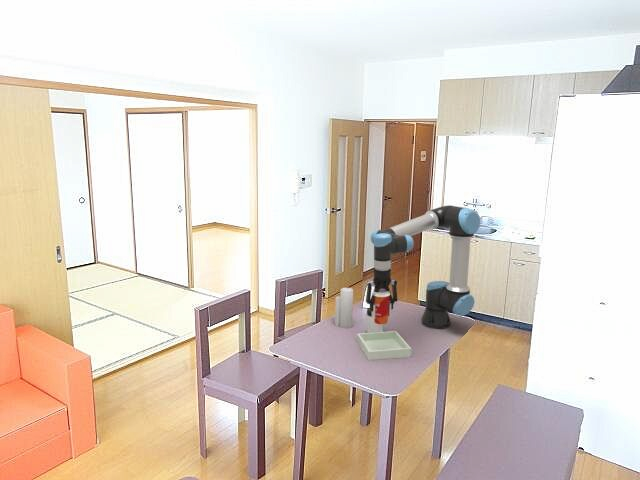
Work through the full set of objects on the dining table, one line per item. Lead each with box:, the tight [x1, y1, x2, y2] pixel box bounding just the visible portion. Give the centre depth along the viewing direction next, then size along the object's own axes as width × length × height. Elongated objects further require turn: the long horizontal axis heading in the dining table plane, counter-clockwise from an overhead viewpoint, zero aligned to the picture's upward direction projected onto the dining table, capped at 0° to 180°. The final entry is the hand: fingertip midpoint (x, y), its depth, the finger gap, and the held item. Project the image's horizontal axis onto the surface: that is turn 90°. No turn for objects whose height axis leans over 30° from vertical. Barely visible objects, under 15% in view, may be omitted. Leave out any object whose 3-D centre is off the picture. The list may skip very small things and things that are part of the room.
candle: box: [334, 287, 354, 329], centre depth 249 cm, size 11×7×20 cm, turn 48°
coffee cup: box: [371, 289, 391, 325], centre depth 214 cm, size 8×8×15 cm
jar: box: [365, 307, 384, 333], centre depth 241 cm, size 9×8×12 cm
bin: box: [356, 330, 412, 361], centre depth 223 cm, size 20×20×4 cm
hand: (381, 316), depth 215 cm, fingers closed on coffee cup, 7 cm apart
